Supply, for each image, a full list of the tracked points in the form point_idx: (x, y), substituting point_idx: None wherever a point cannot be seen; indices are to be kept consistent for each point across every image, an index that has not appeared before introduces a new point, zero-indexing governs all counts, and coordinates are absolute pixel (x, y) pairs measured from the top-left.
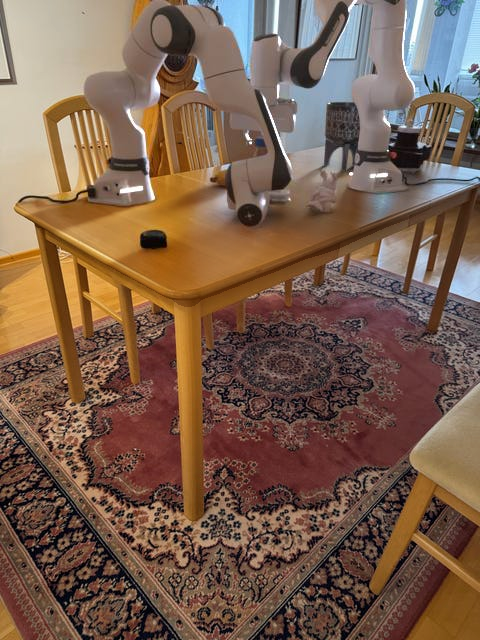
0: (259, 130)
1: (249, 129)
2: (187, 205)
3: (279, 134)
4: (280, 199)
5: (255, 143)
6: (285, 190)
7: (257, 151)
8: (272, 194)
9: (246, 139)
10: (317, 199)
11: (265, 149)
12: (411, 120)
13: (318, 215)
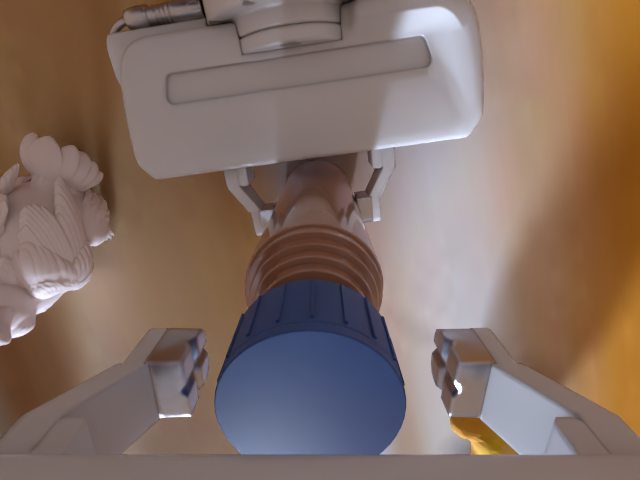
0: (349, 455)
1: (556, 460)
2: (627, 108)
3: (12, 433)
4: (152, 27)
5: (382, 324)
6: (150, 134)
7: (345, 275)
8: (194, 30)
9: (513, 365)
10: (37, 195)
11: None
12: None
13: None
